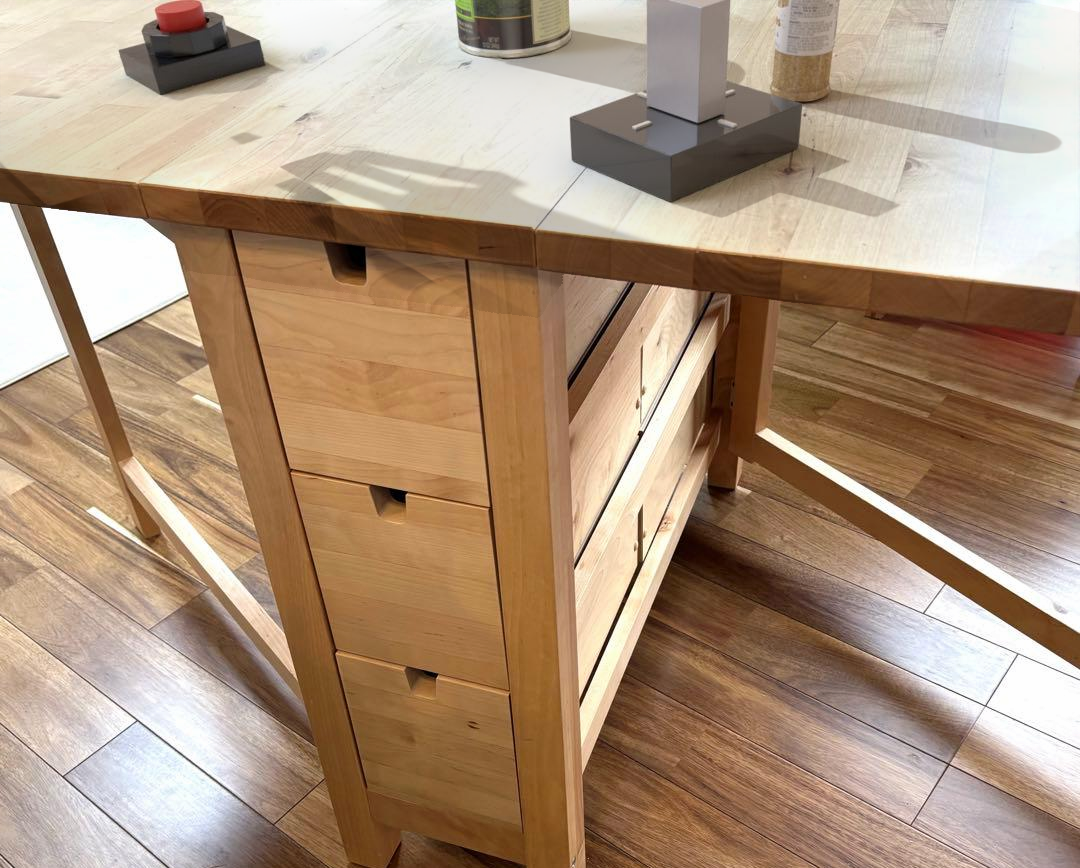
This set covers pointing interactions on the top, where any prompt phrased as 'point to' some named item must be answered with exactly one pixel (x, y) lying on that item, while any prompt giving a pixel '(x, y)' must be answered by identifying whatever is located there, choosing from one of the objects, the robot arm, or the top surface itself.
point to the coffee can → (512, 27)
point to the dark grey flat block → (684, 141)
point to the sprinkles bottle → (804, 48)
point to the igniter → (190, 55)
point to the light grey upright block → (687, 57)
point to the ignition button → (180, 15)
